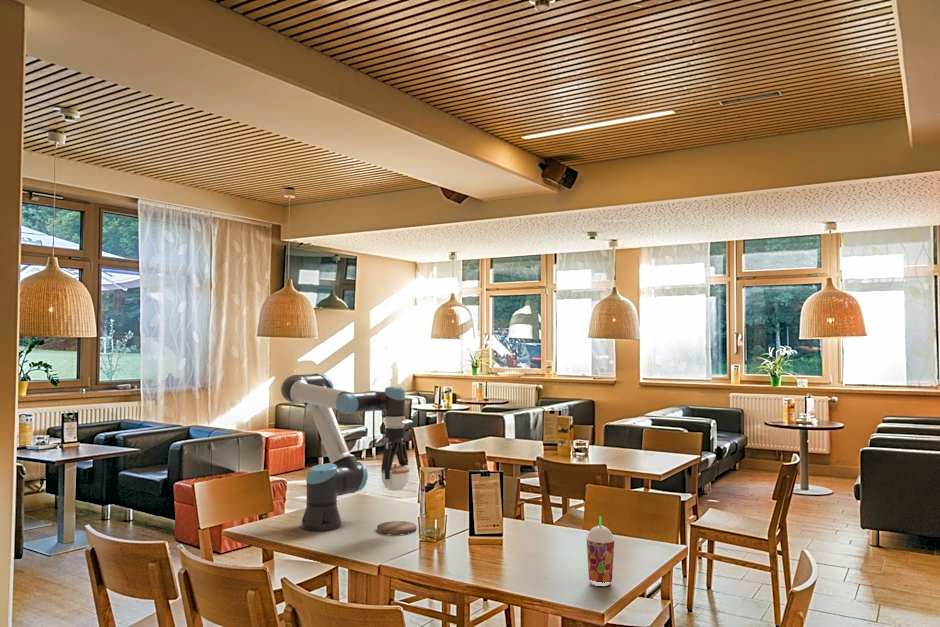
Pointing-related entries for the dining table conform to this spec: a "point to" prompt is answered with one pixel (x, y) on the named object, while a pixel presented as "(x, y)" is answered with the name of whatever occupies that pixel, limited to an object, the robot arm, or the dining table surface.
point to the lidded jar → (397, 477)
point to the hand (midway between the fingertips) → (395, 485)
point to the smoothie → (600, 553)
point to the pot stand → (396, 527)
